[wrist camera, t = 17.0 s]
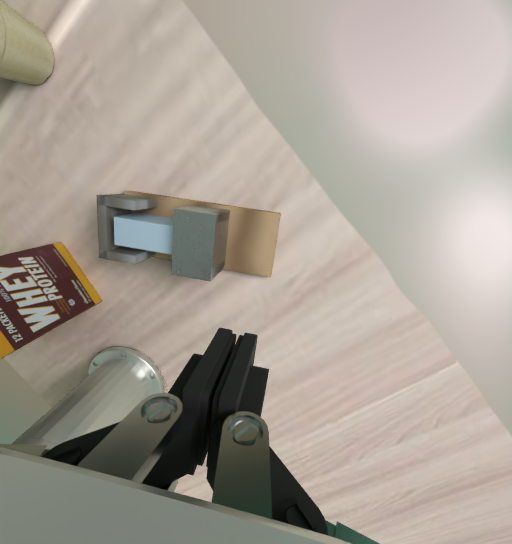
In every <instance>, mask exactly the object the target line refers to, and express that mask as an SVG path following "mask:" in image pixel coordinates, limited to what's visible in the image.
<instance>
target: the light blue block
mask: <svg viewBox="0 0 512 544" xmlns="http://www.w3.org/2000/svg"><path fill="white" fill-rule="evenodd" d="M173 219H174V218H168V217H162V216H155V215H149V214H143V213H134V214H128V215H122V216H116V217H114V243H115V245H119V246H125V247H131V248H137V249H143V250H148V251H154V252H160V253H166V254H171V255H172V245H173Z"/></svg>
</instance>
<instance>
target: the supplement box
mask: <svg viewBox="0 0 512 544" xmlns="http://www.w3.org/2000/svg"><path fill="white" fill-rule="evenodd" d="M101 301H102V300H101V298H100V297H99V295H98V294H97V292H96V291H95V290H94V288H93V287H92V285H91V284H90V282H89V281H88V279H87V278H86V276H85V275H84V274H83V272H82V271H81V269H80V268H79V266H78V265H77V263H76V262H75V261H74V259H73V258H72V256H71V255H70V253H69V252H68V250H67V249H66V248H65V246H64V245H63V243H62V242H59V243H54V244H50V245H45V246H41V247H37V248H32V249H28V250H24V251H20V252H15V253H11V254H6V255H2V256H0V359H2V358H4V357H5V356H7V355H9V354H10V353H12V352H14V351H16V350H17V349H19V348H21V347H23V346H24V345H26V344H28V343H29V342H31V341H33V340H35V339H36V338H38V337H40V336H42V335H43V334H45V333H47V332H49V331H50V330H52V329H54V328H55V327H57V326H59V325H61V324H62V323H64V322H66V321H68V320H70V319H71V318H73V317H75V316H77V315H79V314H80V313H82V312H84V311H86V310H88V309H89V308H91V307H93V306H95V305H96V304H98V303H100V302H101Z"/></svg>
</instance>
